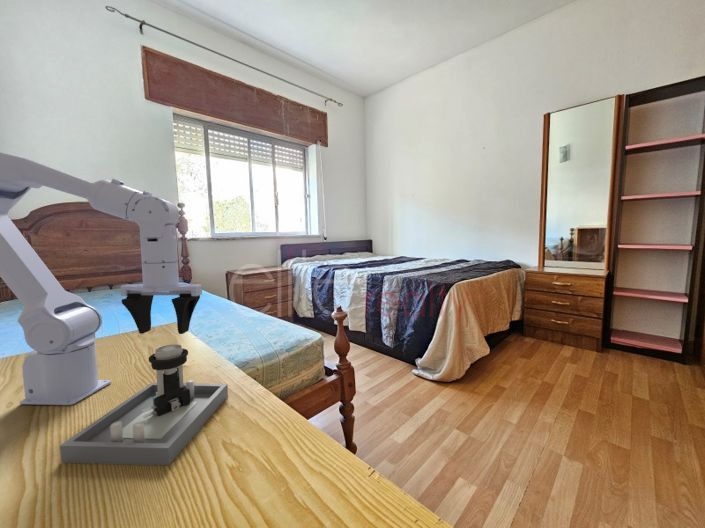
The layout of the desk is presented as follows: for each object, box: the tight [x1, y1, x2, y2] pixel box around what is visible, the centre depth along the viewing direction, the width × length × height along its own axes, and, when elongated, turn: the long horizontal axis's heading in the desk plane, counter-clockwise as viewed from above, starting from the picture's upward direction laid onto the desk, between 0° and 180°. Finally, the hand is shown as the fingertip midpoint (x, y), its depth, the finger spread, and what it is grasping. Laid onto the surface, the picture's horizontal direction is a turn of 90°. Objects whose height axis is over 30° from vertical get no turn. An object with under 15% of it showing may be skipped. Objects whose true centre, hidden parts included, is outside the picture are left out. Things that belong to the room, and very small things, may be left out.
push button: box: [142, 343, 190, 418], centre depth 46 cm, size 7×5×10 cm
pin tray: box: [59, 379, 229, 466], centre depth 44 cm, size 14×16×4 cm
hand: (164, 332), depth 56 cm, fingers open, 7 cm apart
